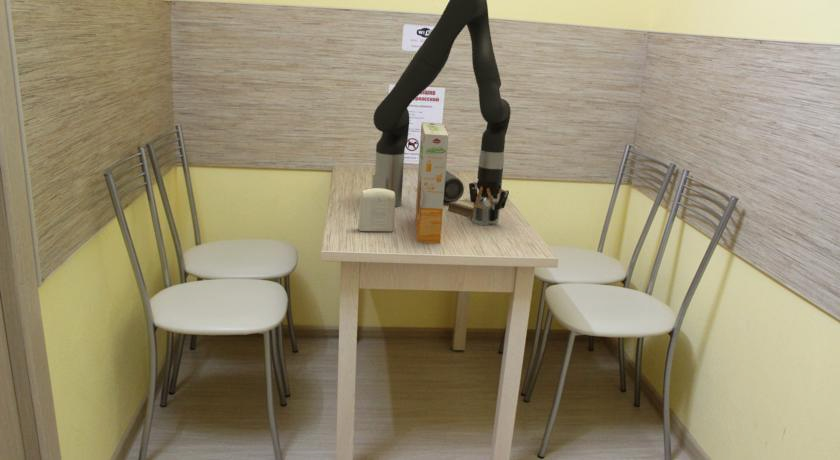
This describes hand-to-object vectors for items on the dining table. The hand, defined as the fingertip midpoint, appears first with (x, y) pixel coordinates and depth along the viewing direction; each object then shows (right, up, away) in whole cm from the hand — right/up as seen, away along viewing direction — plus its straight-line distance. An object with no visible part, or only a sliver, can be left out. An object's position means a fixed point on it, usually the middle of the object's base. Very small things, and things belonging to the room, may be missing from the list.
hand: (485, 218), depth 210 cm
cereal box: (-19, -4, -12) cm, 23 cm away
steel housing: (0, -1, 0) cm, 1 cm away
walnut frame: (-4, +2, +11) cm, 12 cm away
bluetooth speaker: (-14, +8, +27) cm, 31 cm away
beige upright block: (-33, -4, -16) cm, 37 cm away
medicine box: (+4, +4, +19) cm, 20 cm away
